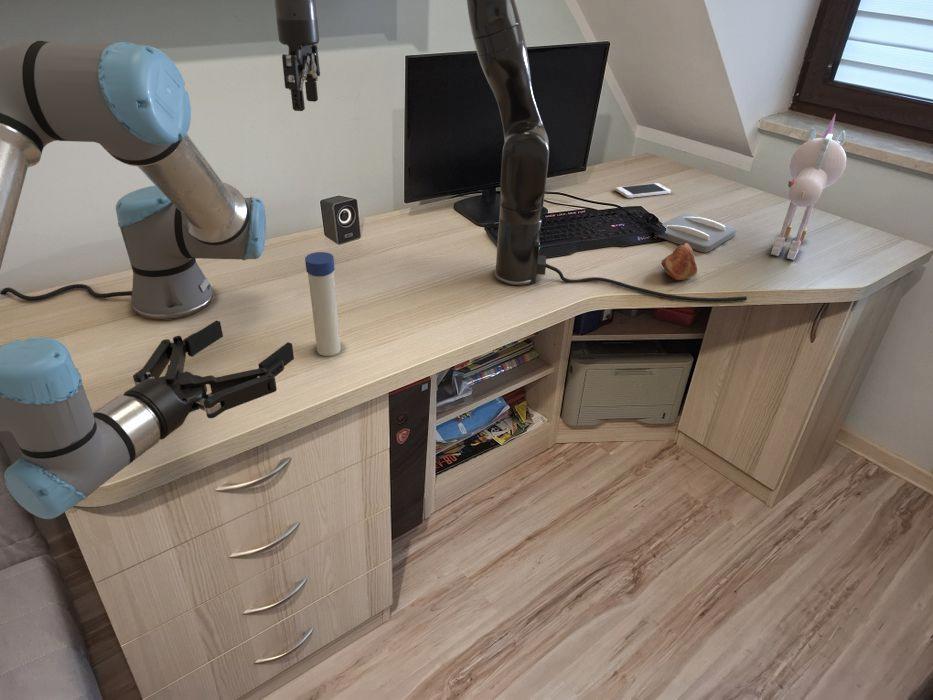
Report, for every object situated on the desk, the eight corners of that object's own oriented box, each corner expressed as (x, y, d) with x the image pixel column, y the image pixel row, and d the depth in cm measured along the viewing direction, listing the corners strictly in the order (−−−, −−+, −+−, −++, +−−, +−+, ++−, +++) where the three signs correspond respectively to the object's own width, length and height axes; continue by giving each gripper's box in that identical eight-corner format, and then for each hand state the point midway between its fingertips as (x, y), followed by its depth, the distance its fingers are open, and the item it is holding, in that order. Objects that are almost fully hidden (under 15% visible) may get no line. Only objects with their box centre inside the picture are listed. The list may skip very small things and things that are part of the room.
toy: (826, 222, 178) (867, 110, 161) (806, 269, 152) (852, 142, 135) (779, 212, 183) (814, 103, 167) (751, 256, 157) (789, 132, 141)
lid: (324, 278, 106) (323, 266, 105) (300, 272, 108) (299, 260, 106) (340, 267, 110) (339, 255, 108) (316, 261, 111) (315, 249, 110)
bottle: (332, 358, 115) (323, 267, 105) (312, 352, 117) (301, 262, 107) (345, 346, 119) (337, 257, 109) (325, 341, 120) (316, 253, 110)
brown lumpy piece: (670, 275, 139) (676, 230, 139) (641, 277, 146) (647, 234, 147) (708, 285, 146) (713, 242, 146) (678, 286, 153) (683, 245, 153)
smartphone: (614, 190, 195) (615, 187, 194) (657, 185, 199) (658, 182, 199) (627, 198, 189) (628, 195, 189) (671, 193, 194) (671, 190, 193)
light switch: (708, 241, 156) (653, 223, 165) (705, 253, 158) (650, 234, 167) (740, 223, 167) (687, 206, 176) (737, 234, 169) (684, 217, 178)
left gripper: (80, 413, 87) (196, 339, 103) (223, 471, 78) (325, 381, 95) (63, 367, 83) (187, 298, 99) (211, 423, 74) (320, 338, 91)
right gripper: (303, 21, 114) (313, 115, 123) (327, 12, 125) (334, 99, 134) (263, 19, 114) (275, 113, 123) (290, 10, 126) (299, 96, 135)
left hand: (254, 339), depth 97 cm, fingers open, 13 cm apart
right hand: (306, 105), depth 129 cm, fingers open, 8 cm apart
